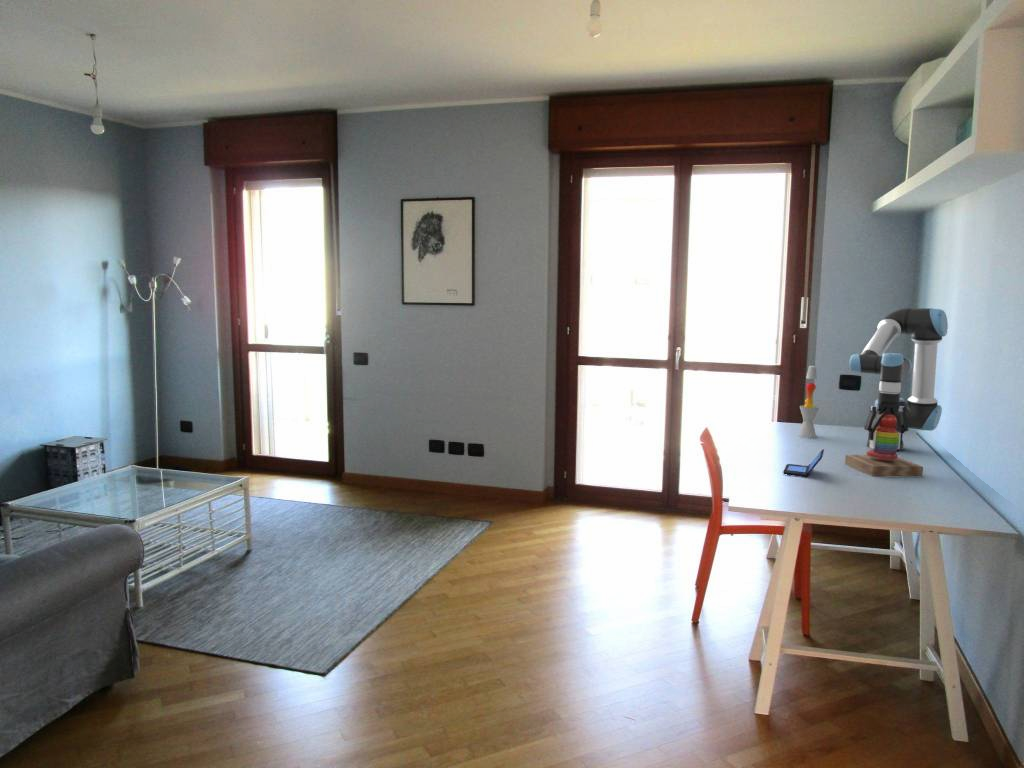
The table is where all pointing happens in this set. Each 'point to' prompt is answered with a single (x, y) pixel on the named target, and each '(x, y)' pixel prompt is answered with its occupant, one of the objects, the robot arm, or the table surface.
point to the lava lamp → (809, 407)
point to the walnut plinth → (883, 466)
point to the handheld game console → (802, 467)
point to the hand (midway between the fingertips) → (884, 448)
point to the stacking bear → (886, 439)
